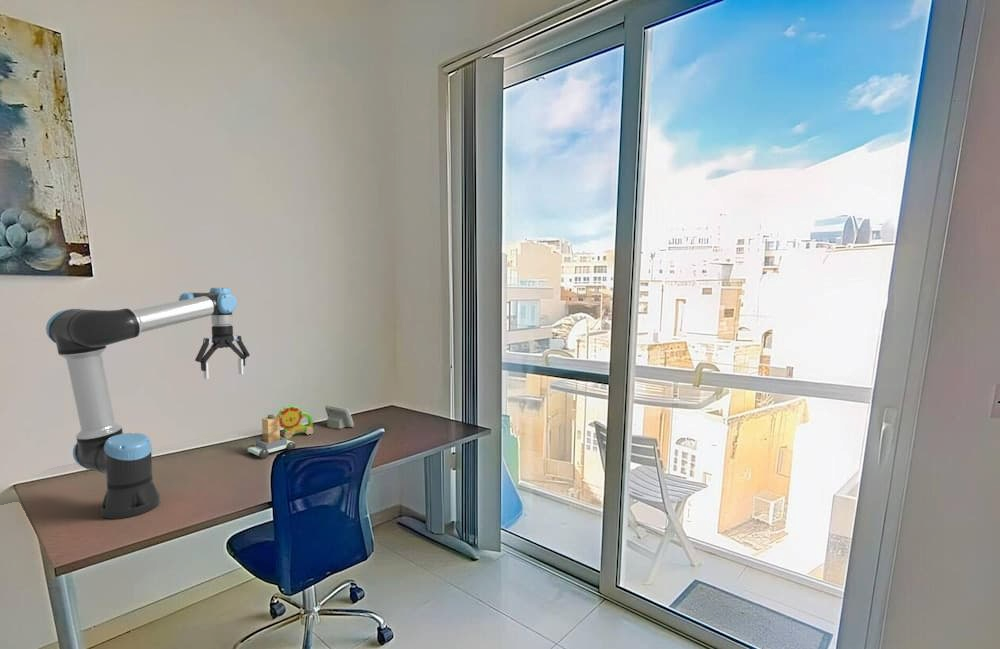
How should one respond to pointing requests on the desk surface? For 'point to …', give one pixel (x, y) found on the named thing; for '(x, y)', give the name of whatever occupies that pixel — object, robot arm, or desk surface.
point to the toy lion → (294, 421)
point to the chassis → (269, 447)
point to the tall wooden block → (270, 429)
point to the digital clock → (338, 417)
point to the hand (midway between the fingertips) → (224, 376)
